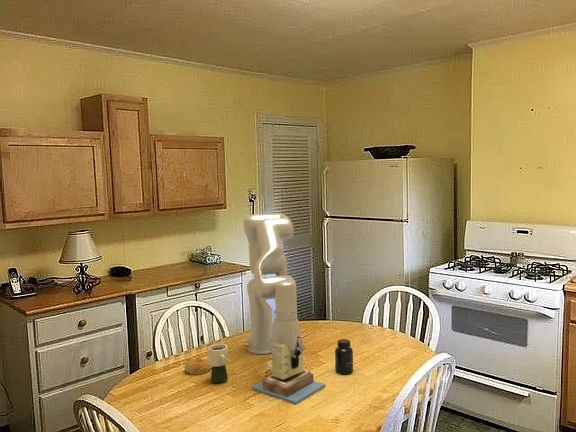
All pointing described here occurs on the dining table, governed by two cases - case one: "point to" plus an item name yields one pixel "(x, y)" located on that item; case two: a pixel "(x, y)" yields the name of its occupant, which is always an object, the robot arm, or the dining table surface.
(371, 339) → the dining table surface
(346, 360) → the supplement bottle
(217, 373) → the character mug
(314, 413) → the dining table surface
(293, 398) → the board
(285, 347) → the box
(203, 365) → the bagel
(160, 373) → the dining table surface
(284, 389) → the tray
